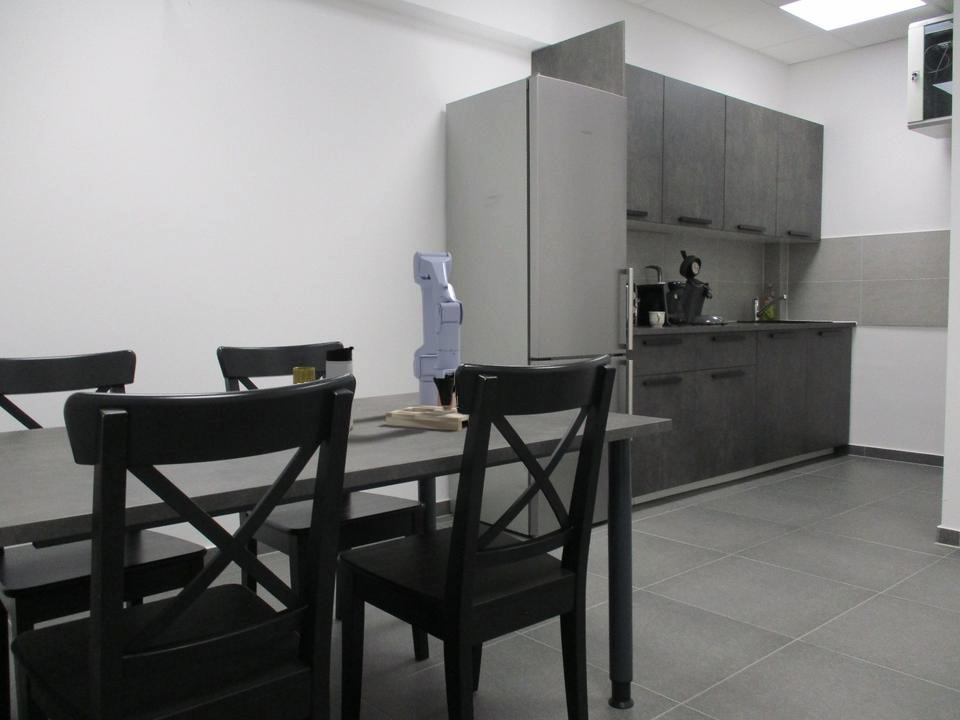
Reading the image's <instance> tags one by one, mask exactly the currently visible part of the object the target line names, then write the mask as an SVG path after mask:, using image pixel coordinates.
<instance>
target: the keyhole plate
mask: <svg viewBox="0 0 960 720" xmlns="http://www.w3.org/2000/svg"><path fill="white" fill-rule="evenodd" d="M456 408H457V407H452V413H451V414H450V413H442V410H443V407H437V406H423V405H419V404H416V405H411V406H408V407H404V408H401V409H396V410H392V411H391V410H390V411H387V412H386V413H385V426H394V427H395V426H396V427H407V428H409V427H410V428H422V429H433V430H444V431H445V430H447V431H454V432H455V431H461V430H463V429H462V427H463V424H462V422H468V421H467V420H468V417H469V416H468V415H462V414H458V413H457V409H456Z"/></svg>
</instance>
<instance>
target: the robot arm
mask: <svg viewBox="0 0 960 720" xmlns="http://www.w3.org/2000/svg"><path fill="white" fill-rule="evenodd" d="M412 261H413V263H412V267H413V280H414V283H415V284H417V285H419V287H420V290H421V291H420V292H421V302H422V309H421V310H422V333H423V336H422V337H423V344H422V345H421V346H419V347H418V348H417V349H416V350H414V353H413V362H412V363H413V364H412V366H413V375H414V376H413V377H415V379H417V380H418V405H423V406H437V393H439V397H440V401H441V405H442V406H450V404H451V398H452V391H455V385H454V373H455V371H456V369H457V367H458V366H459V365H460V366H461V325H462V324H463V323H464V322H463V321H464V308H463V307H464V306H463V303H462V301H460V300H458V299H457V295H456V293H455V290H454V286H453V285H452V284H451V283H449V282H448V279H449V277H450V274H451V272H452V267H453V265H452V264H453V263H452V262H453V259H452V254H451V253H450V252H449V251H446V252H437V251H435V252H434V251H432V252H431V251H430V252H429V251H419V250H417V251H416V252H415V253H414V255H413V260H412Z"/></svg>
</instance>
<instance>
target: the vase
mask: <svg viewBox="0 0 960 720" xmlns="http://www.w3.org/2000/svg"><path fill="white" fill-rule="evenodd" d="M315 369H316V368H315V367H313V366H297V367H296V366H295V367H292V385H293V384H297V383H304V382H308V381H312V380H315V381H316V372H315V371H316V370H315Z"/></svg>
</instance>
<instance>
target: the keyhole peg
mask: <svg viewBox="0 0 960 720" xmlns="http://www.w3.org/2000/svg"><path fill="white" fill-rule="evenodd" d="M437 407H443V410H442V413H450V414H451V413H452V408H456V407H457V406H456V398H455V391H452V398H451V404H450V406H442V405H441V401H440V397H439V393H437Z"/></svg>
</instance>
